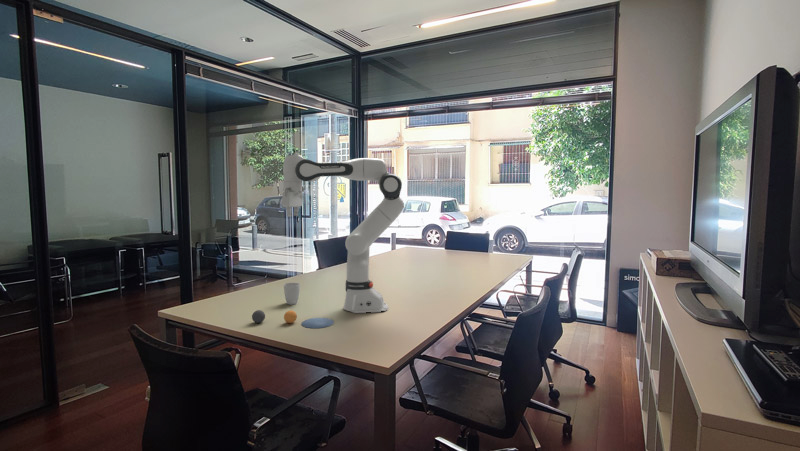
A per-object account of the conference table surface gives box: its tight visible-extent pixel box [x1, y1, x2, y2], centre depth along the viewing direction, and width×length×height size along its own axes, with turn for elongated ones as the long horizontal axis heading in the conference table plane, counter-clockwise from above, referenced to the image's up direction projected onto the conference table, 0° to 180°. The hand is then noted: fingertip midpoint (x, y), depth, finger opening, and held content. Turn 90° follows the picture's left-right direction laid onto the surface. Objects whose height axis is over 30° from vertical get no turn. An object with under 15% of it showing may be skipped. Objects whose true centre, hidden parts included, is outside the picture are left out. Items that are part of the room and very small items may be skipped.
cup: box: [283, 282, 301, 305], centre depth 205 cm, size 8×8×10 cm
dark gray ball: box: [251, 309, 266, 324], centre depth 174 cm, size 6×6×6 cm
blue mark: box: [300, 317, 335, 329], centre depth 174 cm, size 14×14×1 cm
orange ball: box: [283, 310, 298, 324], centre depth 174 cm, size 6×6×6 cm
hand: (292, 216), depth 193 cm, fingers open, 8 cm apart
